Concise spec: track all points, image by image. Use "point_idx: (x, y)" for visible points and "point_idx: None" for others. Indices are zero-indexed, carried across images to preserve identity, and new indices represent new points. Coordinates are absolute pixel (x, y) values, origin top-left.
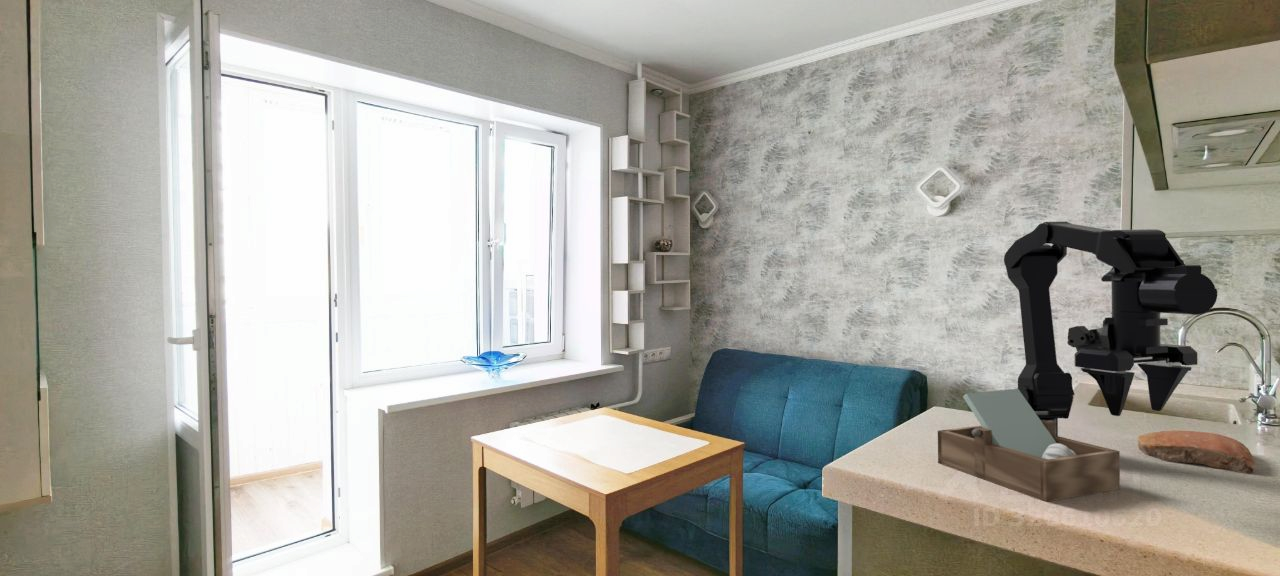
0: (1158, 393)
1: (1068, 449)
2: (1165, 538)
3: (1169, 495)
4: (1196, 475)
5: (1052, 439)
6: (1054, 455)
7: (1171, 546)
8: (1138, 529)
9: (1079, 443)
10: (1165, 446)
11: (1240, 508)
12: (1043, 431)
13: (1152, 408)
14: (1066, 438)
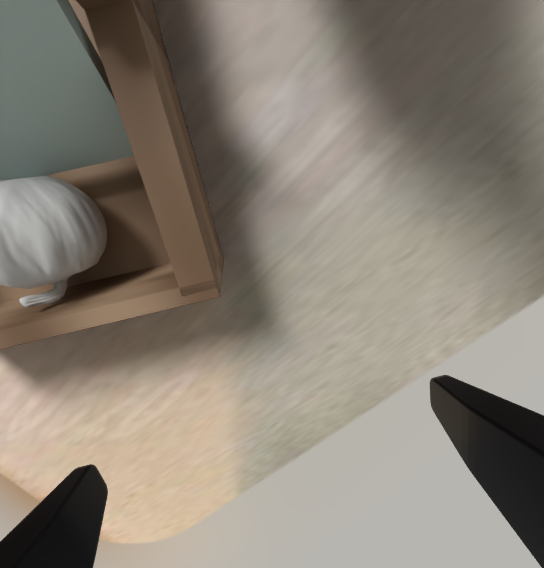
0: (520, 498)
1: (10, 284)
2: None
3: (297, 312)
4: (509, 195)
5: (80, 65)
6: None
7: None
8: (73, 452)
9: (149, 175)
10: None
11: (357, 382)
12: (23, 13)
13: (434, 384)
14: (152, 78)
